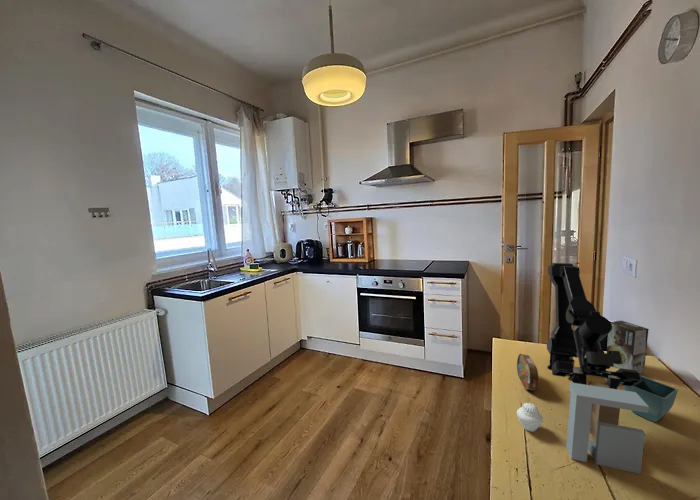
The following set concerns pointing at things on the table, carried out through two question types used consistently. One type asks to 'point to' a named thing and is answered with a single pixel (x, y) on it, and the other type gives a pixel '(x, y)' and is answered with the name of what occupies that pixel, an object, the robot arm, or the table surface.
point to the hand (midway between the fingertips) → (600, 406)
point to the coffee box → (628, 344)
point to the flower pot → (654, 398)
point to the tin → (527, 372)
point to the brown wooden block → (602, 413)
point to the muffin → (529, 417)
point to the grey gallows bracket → (604, 428)
